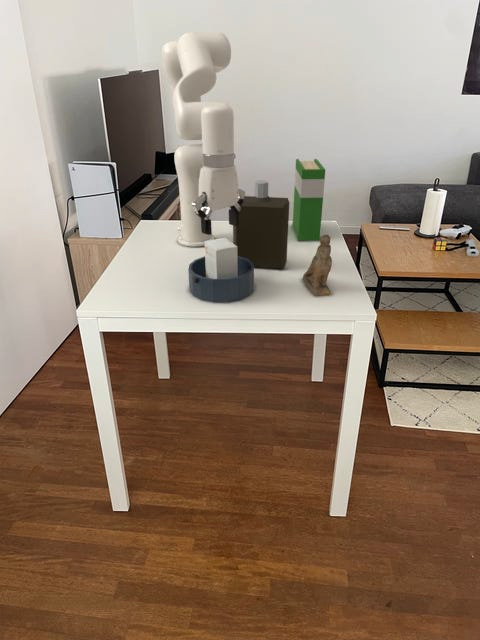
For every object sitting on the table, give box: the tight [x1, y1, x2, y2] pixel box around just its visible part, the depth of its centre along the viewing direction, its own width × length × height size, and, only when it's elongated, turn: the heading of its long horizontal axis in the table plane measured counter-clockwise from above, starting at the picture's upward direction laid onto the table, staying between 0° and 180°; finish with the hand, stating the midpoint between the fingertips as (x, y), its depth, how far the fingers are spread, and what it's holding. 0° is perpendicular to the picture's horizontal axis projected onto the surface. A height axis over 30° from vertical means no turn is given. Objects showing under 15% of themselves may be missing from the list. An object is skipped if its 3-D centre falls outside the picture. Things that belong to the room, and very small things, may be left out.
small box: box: [204, 237, 238, 279], centre depth 128 cm, size 8×6×13 cm
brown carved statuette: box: [302, 234, 333, 297], centre depth 127 cm, size 12×6×18 cm, turn 6°
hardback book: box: [292, 158, 326, 242], centre depth 166 cm, size 18×7×24 cm, turn 1°
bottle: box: [232, 179, 290, 270], centre depth 140 cm, size 8×16×25 cm, turn 80°
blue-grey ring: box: [187, 255, 255, 304], centre depth 130 cm, size 18×20×6 cm
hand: (220, 229), depth 123 cm, fingers open, 9 cm apart
